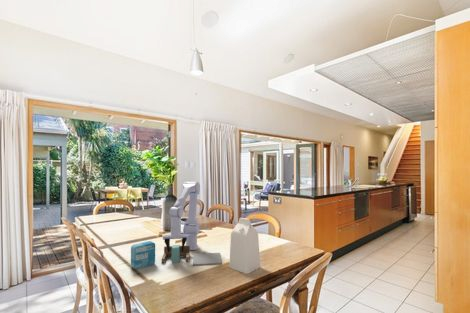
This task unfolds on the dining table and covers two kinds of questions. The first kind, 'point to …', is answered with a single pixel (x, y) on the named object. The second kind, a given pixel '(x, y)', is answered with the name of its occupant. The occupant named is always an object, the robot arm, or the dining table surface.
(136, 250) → the data package
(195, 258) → the board
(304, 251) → the dining table surface
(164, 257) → the bay
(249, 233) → the milk
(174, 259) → the block
